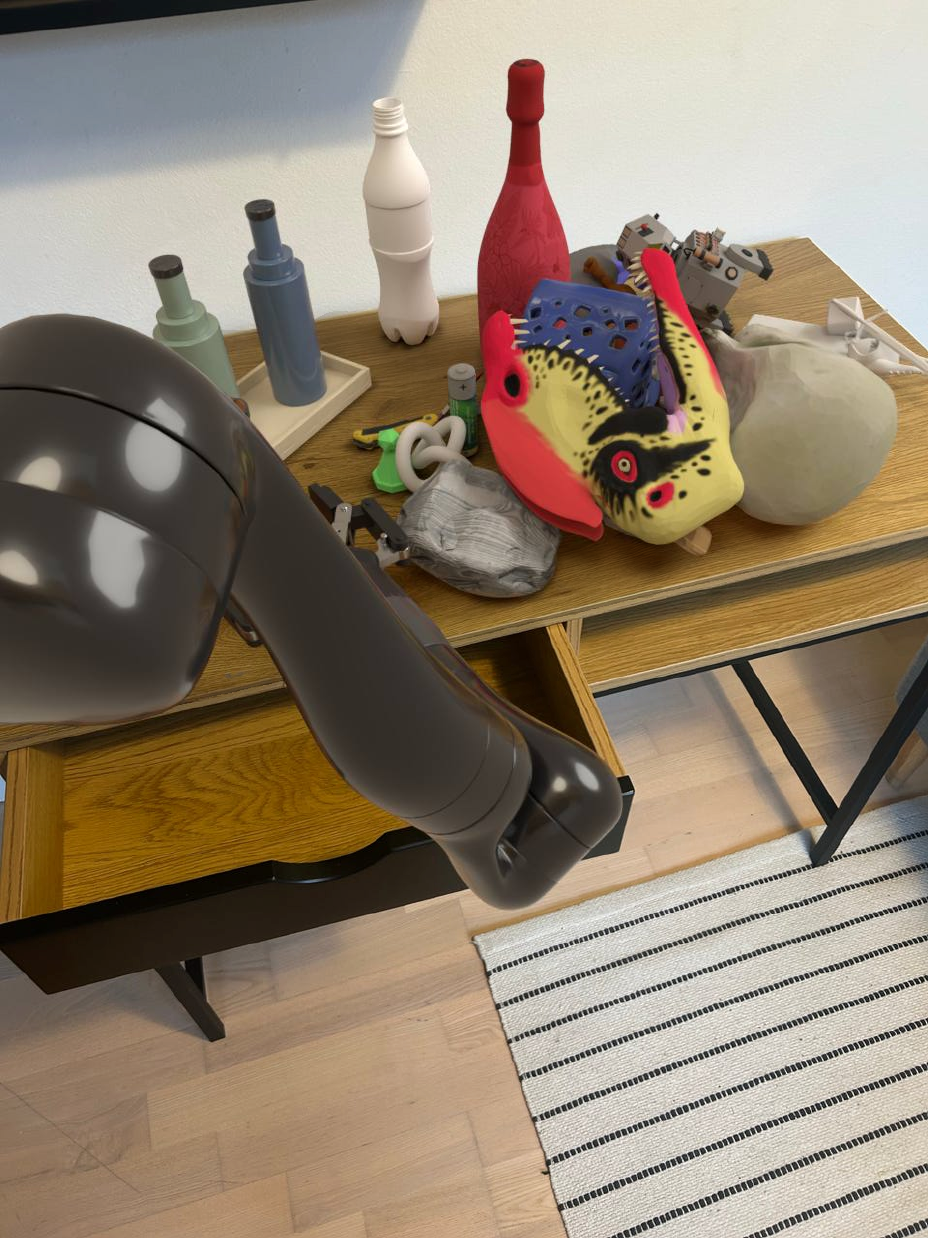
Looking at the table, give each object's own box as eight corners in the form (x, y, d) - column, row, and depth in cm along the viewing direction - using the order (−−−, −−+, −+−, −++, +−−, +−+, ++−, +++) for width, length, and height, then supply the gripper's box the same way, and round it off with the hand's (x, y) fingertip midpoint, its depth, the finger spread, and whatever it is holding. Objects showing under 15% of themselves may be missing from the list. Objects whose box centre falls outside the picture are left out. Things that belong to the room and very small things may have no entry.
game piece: (424, 478, 85) (420, 429, 81) (391, 499, 83) (384, 450, 79) (397, 459, 87) (391, 410, 83) (364, 478, 86) (355, 429, 81)
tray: (137, 584, 78) (128, 566, 76) (56, 539, 82) (46, 521, 80) (372, 385, 96) (369, 367, 94) (296, 357, 100) (292, 339, 99)
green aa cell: (433, 428, 87) (461, 393, 84) (430, 425, 87) (458, 390, 84) (459, 404, 93) (486, 370, 90) (457, 401, 93) (483, 368, 90)
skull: (616, 414, 85) (782, 488, 90) (654, 491, 70) (850, 574, 75) (698, 267, 77) (874, 356, 82) (760, 319, 63) (970, 424, 67)
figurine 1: (756, 227, 99) (642, 180, 95) (780, 279, 92) (657, 230, 87) (712, 296, 105) (603, 255, 101) (731, 349, 98) (614, 307, 94)
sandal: (574, 431, 78) (541, 477, 79) (700, 525, 70) (662, 574, 71) (607, 453, 83) (576, 495, 85) (728, 542, 75) (692, 588, 76)
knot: (490, 476, 86) (501, 431, 82) (447, 520, 81) (456, 475, 77) (428, 442, 88) (436, 396, 83) (383, 483, 83) (388, 437, 79)
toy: (668, 215, 73) (444, 291, 75) (782, 489, 64) (526, 567, 66) (664, 272, 80) (460, 340, 82) (767, 526, 71) (535, 596, 73)
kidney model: (538, 298, 95) (561, 198, 104) (526, 348, 101) (549, 250, 110) (673, 330, 95) (686, 227, 104) (653, 378, 101) (666, 277, 110)
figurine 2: (719, 385, 95) (966, 438, 84) (727, 318, 89) (994, 366, 79) (757, 331, 102) (990, 374, 91) (767, 266, 96) (1017, 304, 85)
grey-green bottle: (188, 469, 87) (119, 280, 71) (203, 432, 91) (140, 245, 75) (247, 469, 86) (189, 279, 71) (259, 432, 90) (207, 244, 75)
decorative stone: (588, 582, 73) (527, 626, 81) (551, 444, 77) (497, 498, 85) (437, 581, 66) (387, 629, 74) (406, 428, 70) (361, 489, 78)
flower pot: (620, 484, 85) (662, 401, 90) (621, 385, 74) (668, 296, 79) (500, 452, 90) (546, 374, 95) (484, 354, 79) (536, 272, 84)
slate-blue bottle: (268, 406, 93) (219, 220, 78) (279, 374, 97) (235, 191, 81) (322, 406, 93) (285, 219, 77) (331, 374, 96) (297, 190, 81)
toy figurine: (627, 373, 99) (654, 335, 102) (646, 360, 96) (674, 321, 98) (552, 299, 97) (583, 262, 99) (569, 282, 93) (600, 244, 96)
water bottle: (370, 344, 102) (338, 112, 82) (396, 313, 106) (370, 86, 87) (426, 354, 100) (405, 120, 80) (450, 322, 104) (436, 93, 85)
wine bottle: (532, 327, 102) (538, 34, 80) (583, 365, 97) (605, 62, 74) (463, 355, 99) (449, 58, 76) (512, 396, 94) (512, 89, 71)
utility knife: (492, 388, 92) (504, 403, 91) (492, 398, 93) (504, 413, 92) (350, 431, 89) (360, 447, 87) (352, 441, 90) (362, 457, 88)
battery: (465, 460, 87) (461, 380, 80) (446, 449, 88) (441, 369, 81) (483, 448, 88) (481, 367, 81) (465, 437, 89) (461, 357, 82)
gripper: (459, 557, 58) (335, 440, 66) (273, 661, 53) (165, 519, 61) (464, 628, 64) (349, 511, 72) (296, 728, 58) (194, 590, 67)
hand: (265, 515), depth 67 cm, fingers open, 8 cm apart
